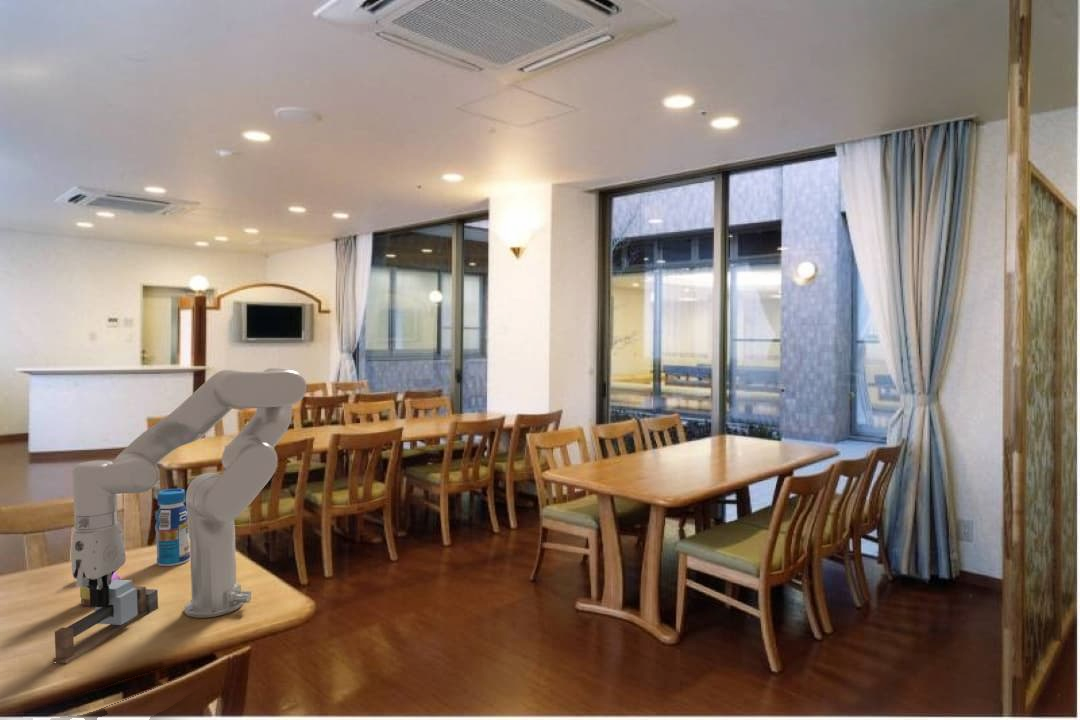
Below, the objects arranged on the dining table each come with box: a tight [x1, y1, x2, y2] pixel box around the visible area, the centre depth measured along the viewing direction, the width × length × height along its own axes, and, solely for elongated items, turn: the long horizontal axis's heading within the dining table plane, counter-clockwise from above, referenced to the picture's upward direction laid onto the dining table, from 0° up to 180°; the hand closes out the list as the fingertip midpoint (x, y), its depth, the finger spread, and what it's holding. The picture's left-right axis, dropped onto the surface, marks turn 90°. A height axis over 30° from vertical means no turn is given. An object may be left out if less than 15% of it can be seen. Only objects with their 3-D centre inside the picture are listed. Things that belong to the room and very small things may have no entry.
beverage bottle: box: [154, 488, 190, 567], centre depth 187 cm, size 8×8×20 cm
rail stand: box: [52, 585, 159, 665], centre depth 145 cm, size 4×26×6 cm, turn 174°
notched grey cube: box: [94, 579, 138, 625], centre depth 147 cm, size 6×5×8 cm
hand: (99, 605), depth 142 cm, fingers closed
